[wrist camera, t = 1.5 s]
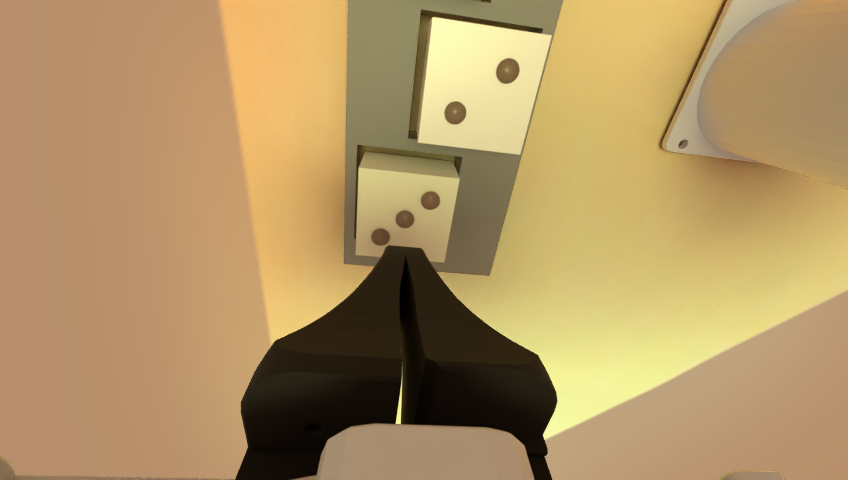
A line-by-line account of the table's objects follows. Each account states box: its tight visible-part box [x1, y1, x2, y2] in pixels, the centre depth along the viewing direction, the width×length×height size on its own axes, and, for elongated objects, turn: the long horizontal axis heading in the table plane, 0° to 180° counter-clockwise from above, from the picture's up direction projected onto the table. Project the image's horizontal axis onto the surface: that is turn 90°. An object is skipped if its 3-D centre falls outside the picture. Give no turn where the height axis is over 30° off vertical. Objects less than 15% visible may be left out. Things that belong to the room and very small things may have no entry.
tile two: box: [417, 17, 552, 155], centre depth 15 cm, size 5×5×3 cm
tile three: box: [356, 151, 460, 263], centre depth 18 cm, size 5×5×3 cm
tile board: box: [344, 0, 563, 276], centre depth 17 cm, size 9×21×2 cm, turn 173°
